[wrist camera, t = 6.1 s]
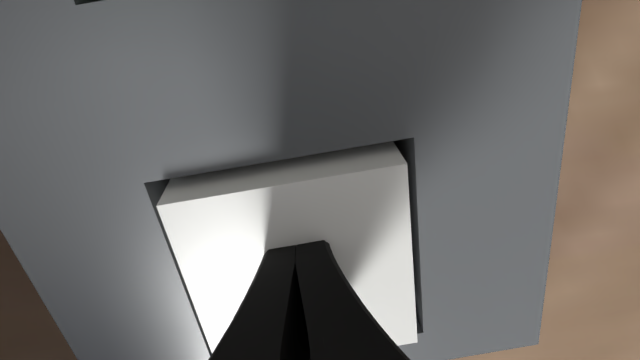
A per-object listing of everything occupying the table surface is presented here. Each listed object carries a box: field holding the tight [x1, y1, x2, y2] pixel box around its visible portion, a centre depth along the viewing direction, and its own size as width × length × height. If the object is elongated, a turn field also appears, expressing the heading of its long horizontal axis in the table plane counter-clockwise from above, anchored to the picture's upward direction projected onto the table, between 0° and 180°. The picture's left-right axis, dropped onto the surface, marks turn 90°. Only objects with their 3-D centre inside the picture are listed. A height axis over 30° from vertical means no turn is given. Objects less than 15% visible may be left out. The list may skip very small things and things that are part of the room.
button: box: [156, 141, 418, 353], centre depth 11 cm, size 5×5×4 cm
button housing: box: [0, 0, 582, 360], centre depth 9 cm, size 17×12×3 cm
